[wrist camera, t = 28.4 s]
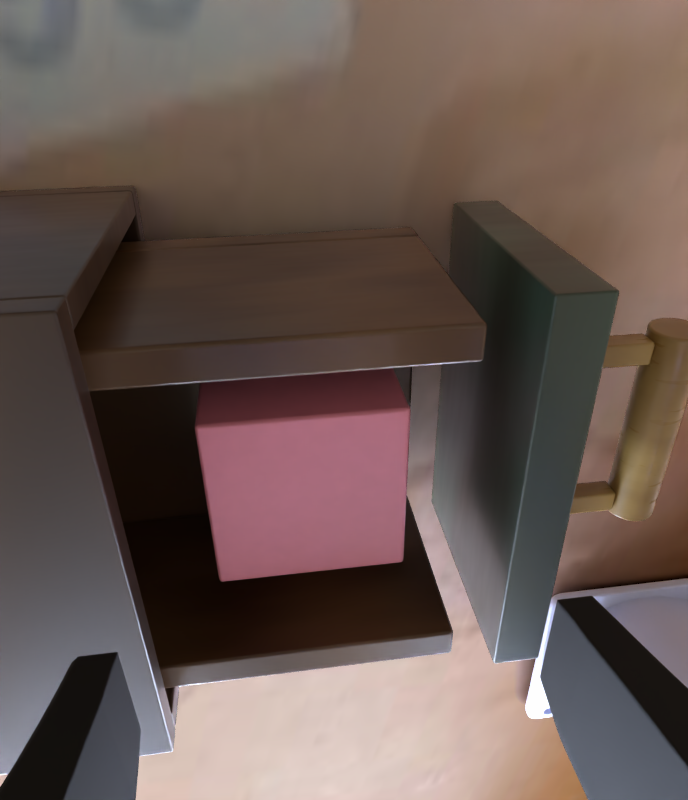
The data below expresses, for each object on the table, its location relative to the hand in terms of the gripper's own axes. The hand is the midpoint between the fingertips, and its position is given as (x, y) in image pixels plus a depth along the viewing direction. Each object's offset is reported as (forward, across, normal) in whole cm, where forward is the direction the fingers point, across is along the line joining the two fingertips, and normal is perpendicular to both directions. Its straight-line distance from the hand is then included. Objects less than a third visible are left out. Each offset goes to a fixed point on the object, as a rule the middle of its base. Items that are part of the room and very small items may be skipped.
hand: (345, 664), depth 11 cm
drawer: (+10, -1, 0) cm, 10 cm away
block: (+8, 0, 0) cm, 9 cm away
